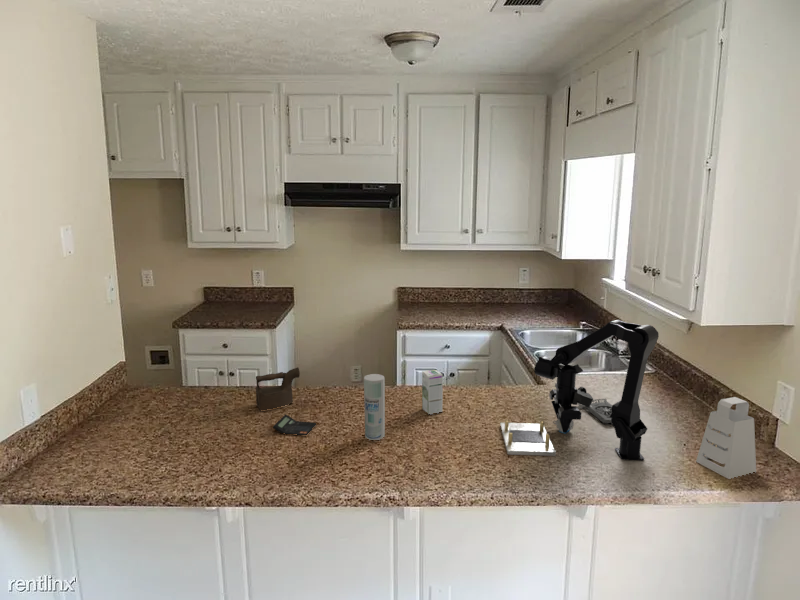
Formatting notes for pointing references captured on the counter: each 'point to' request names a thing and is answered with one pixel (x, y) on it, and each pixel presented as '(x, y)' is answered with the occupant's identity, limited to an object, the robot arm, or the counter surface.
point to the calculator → (293, 426)
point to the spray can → (374, 406)
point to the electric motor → (561, 427)
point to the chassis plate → (527, 439)
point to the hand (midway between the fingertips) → (562, 428)
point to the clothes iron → (276, 390)
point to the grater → (729, 440)
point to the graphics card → (599, 410)
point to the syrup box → (431, 391)
